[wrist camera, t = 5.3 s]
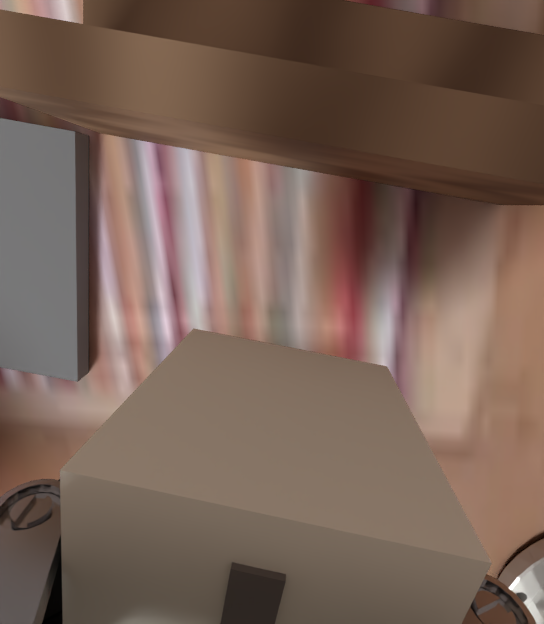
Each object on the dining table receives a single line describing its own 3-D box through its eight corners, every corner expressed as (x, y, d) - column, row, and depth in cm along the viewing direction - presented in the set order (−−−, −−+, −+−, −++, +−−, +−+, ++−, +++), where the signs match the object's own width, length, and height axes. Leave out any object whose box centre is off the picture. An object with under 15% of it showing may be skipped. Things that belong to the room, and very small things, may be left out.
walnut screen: (555, 55, 13) (822, -97, 6) (501, 204, 15) (666, 205, 8) (101, -24, 13) (-92, -251, 7) (99, 133, 15) (-55, 77, 8)
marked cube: (386, 366, 10) (495, 570, 4) (341, 518, 12) (376, 806, 6) (193, 328, 10) (54, 475, 5) (176, 482, 12) (60, 729, 6)
